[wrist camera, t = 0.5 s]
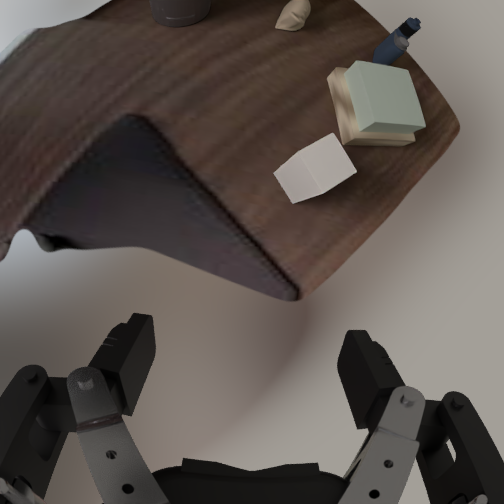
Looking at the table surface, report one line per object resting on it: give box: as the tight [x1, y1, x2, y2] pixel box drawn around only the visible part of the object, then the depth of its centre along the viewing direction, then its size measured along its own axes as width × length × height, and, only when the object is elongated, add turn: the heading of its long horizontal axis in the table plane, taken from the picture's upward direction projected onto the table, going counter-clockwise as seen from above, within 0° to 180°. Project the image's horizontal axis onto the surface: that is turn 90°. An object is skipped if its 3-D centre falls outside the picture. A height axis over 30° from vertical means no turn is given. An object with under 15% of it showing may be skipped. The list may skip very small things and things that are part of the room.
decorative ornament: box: [275, 0, 311, 31], centre depth 32 cm, size 4×8×5 cm, turn 161°
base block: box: [327, 67, 415, 147], centre depth 36 cm, size 11×11×4 cm
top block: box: [344, 61, 426, 134], centre depth 32 cm, size 9×9×4 cm
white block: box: [274, 133, 357, 204], centre depth 31 cm, size 5×5×10 cm
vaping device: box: [373, 18, 421, 66], centre depth 31 cm, size 3×5×12 cm, turn 161°
